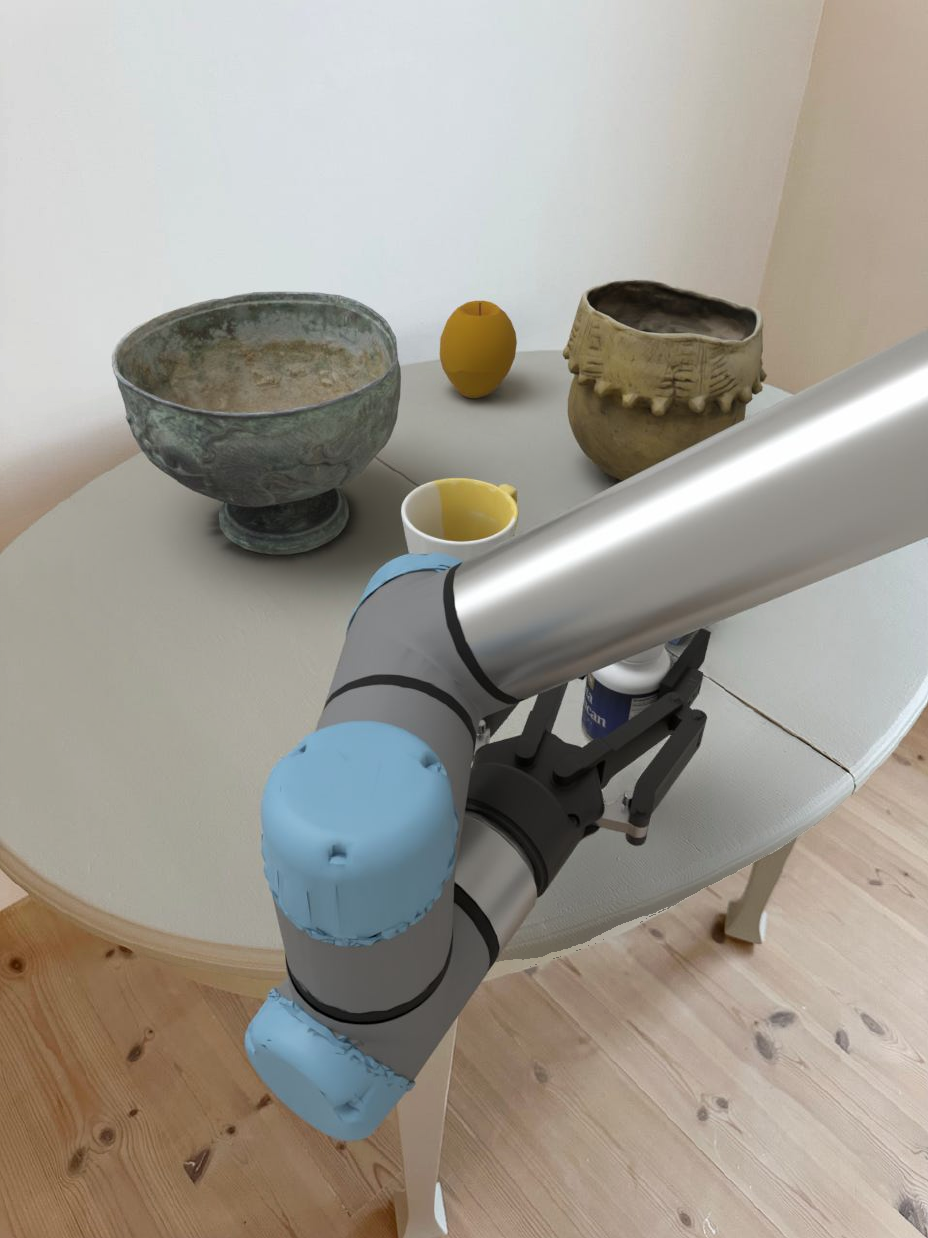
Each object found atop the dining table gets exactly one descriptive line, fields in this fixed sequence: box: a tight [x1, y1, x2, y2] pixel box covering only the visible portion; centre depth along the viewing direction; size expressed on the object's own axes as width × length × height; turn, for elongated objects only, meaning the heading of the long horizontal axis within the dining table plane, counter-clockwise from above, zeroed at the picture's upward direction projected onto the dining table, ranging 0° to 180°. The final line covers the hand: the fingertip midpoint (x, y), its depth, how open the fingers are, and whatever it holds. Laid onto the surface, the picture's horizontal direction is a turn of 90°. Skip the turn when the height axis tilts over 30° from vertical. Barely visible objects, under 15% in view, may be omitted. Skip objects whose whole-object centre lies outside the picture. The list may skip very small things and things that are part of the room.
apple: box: [439, 300, 518, 399], centre depth 119 cm, size 10×10×12 cm
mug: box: [400, 477, 519, 561], centre depth 88 cm, size 14×10×10 cm
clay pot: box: [562, 278, 768, 482], centre depth 102 cm, size 21×21×20 cm
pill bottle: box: [580, 643, 672, 744], centre depth 64 cm, size 5×5×10 cm
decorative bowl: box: [111, 291, 402, 555], centre depth 94 cm, size 26×26×20 cm
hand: (661, 628), depth 67 cm, fingers closed on pill bottle, 5 cm apart
